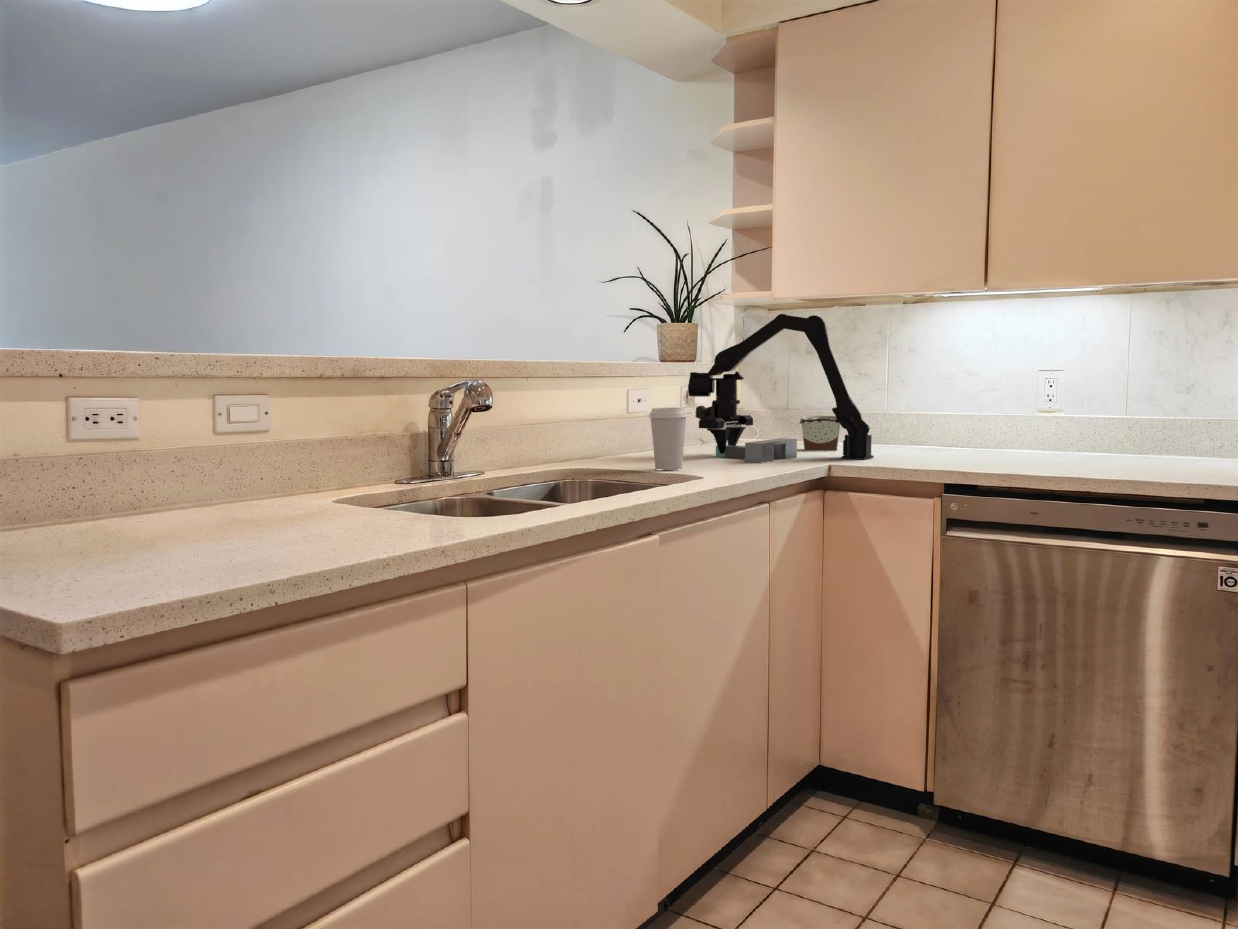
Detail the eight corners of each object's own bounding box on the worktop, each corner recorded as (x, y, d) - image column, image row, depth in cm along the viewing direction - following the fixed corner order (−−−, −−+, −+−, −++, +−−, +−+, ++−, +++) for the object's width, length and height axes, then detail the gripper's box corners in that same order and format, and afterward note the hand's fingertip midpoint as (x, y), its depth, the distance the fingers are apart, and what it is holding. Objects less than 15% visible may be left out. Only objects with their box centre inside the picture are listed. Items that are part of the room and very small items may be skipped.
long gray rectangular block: (796, 457, 247) (796, 438, 247) (761, 462, 234) (761, 443, 233) (780, 456, 250) (780, 438, 250) (745, 461, 237) (745, 442, 236)
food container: (839, 449, 269) (839, 415, 268) (842, 450, 263) (842, 416, 262) (797, 449, 271) (797, 415, 270) (799, 451, 264) (799, 416, 263)
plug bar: (763, 458, 246) (763, 447, 245) (755, 459, 243) (755, 448, 242) (724, 455, 254) (724, 444, 254) (715, 456, 251) (715, 445, 251)
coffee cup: (685, 471, 216) (685, 409, 215) (646, 471, 218) (645, 409, 217) (690, 467, 226) (690, 407, 224) (652, 467, 228) (652, 407, 226)
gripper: (721, 395, 262) (721, 448, 263) (682, 397, 248) (682, 454, 249) (754, 395, 255) (753, 450, 256) (716, 397, 241) (716, 456, 242)
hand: (726, 452), depth 251 cm, fingers closed on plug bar, 4 cm apart
